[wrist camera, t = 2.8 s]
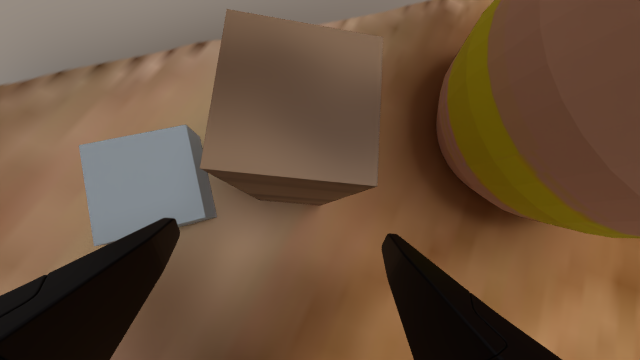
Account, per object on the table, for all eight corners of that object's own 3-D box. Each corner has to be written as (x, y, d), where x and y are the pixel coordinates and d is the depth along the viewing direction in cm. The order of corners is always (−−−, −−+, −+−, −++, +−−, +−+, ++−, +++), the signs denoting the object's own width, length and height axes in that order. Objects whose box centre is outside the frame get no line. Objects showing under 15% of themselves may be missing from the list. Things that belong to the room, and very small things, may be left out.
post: (321, 205, 23) (377, 186, 8) (259, 199, 22) (199, 168, 7) (325, 147, 24) (383, 37, 9) (266, 140, 23) (226, 9, 8)
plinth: (217, 217, 21) (205, 217, 18) (122, 241, 20) (94, 246, 17) (199, 136, 22) (185, 124, 19) (108, 155, 21) (78, 145, 18)
